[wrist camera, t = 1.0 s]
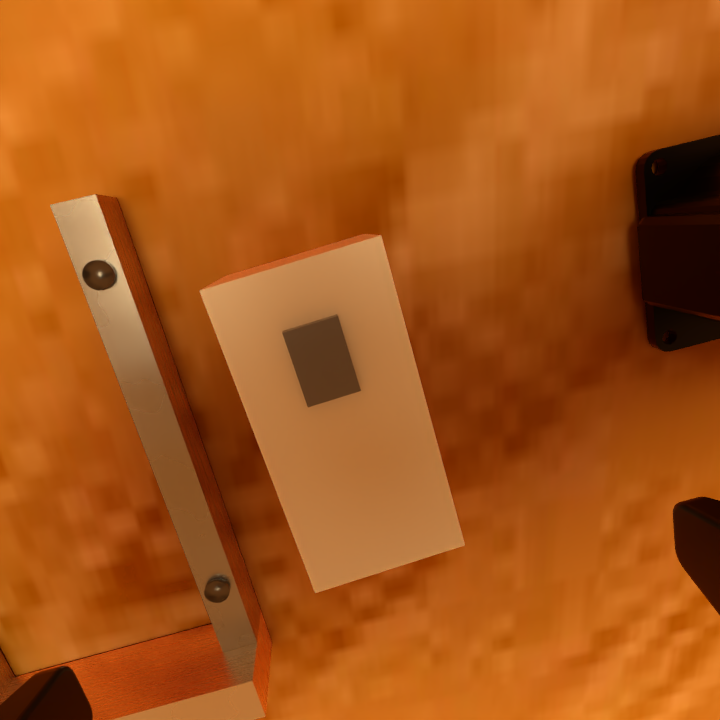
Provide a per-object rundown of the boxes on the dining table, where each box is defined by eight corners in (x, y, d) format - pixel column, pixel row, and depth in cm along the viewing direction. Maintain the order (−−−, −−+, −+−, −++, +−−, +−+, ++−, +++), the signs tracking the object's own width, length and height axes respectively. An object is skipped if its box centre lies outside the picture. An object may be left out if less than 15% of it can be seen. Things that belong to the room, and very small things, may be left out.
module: (364, 233, 16) (383, 235, 12) (432, 477, 18) (468, 550, 14) (225, 275, 16) (196, 292, 12) (313, 515, 18) (314, 599, 14)
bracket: (116, 197, 14) (69, 190, 12) (271, 642, 19) (265, 716, 16) (-247, 283, 14) (-390, 297, 11) (-1, 716, 19) (-58, 806, 16)
